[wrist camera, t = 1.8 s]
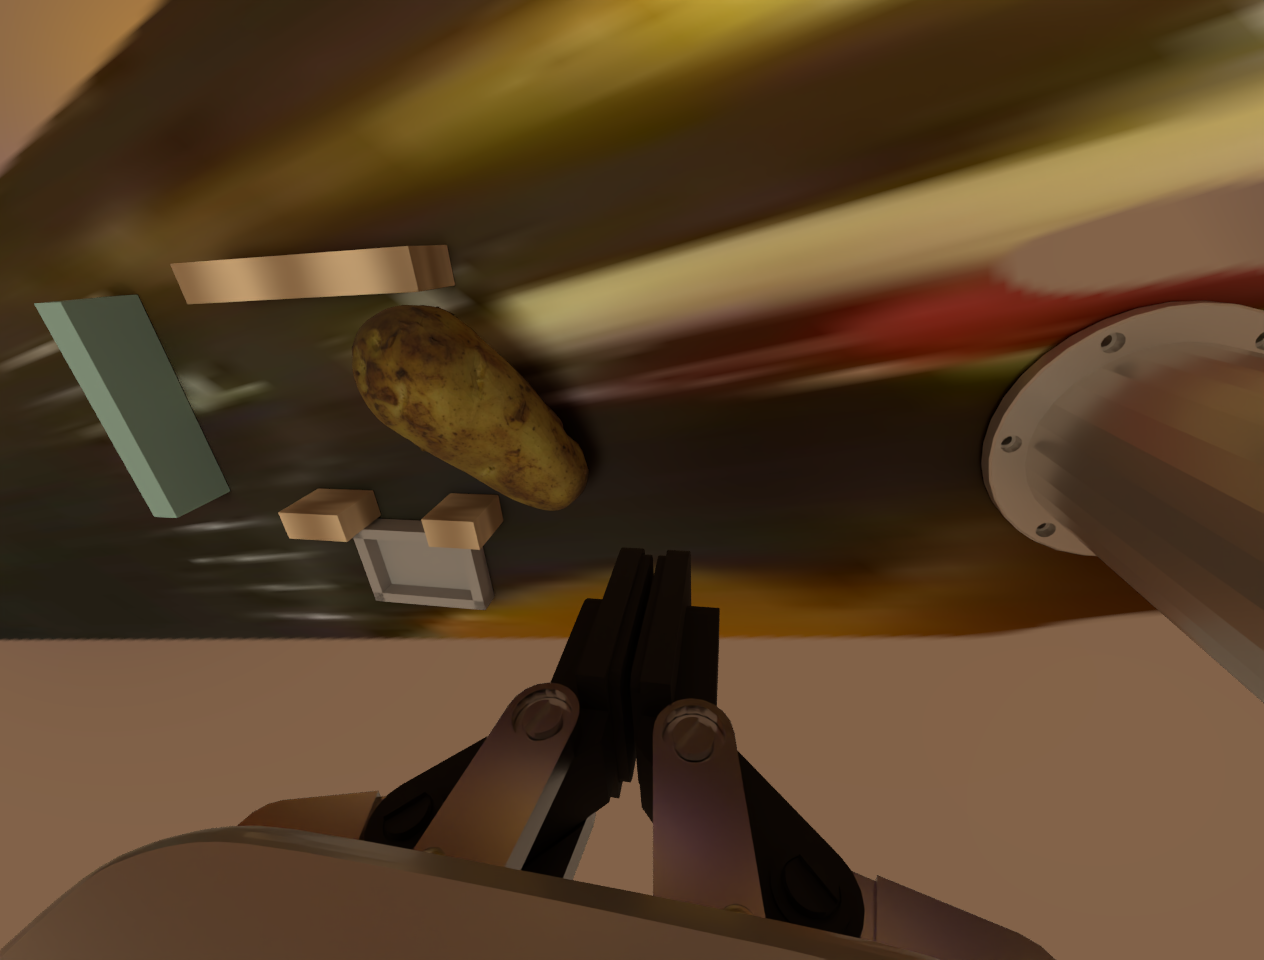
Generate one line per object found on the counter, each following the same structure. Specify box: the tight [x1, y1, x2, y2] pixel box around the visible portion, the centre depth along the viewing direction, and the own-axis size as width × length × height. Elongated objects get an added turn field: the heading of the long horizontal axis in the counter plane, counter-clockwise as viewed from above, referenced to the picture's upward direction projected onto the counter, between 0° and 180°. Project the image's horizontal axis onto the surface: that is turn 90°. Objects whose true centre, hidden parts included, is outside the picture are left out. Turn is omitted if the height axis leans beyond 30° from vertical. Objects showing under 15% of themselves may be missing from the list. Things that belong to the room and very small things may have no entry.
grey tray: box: [353, 518, 494, 610], centre depth 35 cm, size 9×6×2 cm
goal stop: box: [34, 295, 230, 518], centre depth 32 cm, size 2×14×4 cm, turn 3°
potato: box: [352, 305, 589, 511], centre depth 26 cm, size 8×13×8 cm, turn 20°
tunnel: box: [170, 245, 503, 550], centre depth 29 cm, size 14×17×4 cm
